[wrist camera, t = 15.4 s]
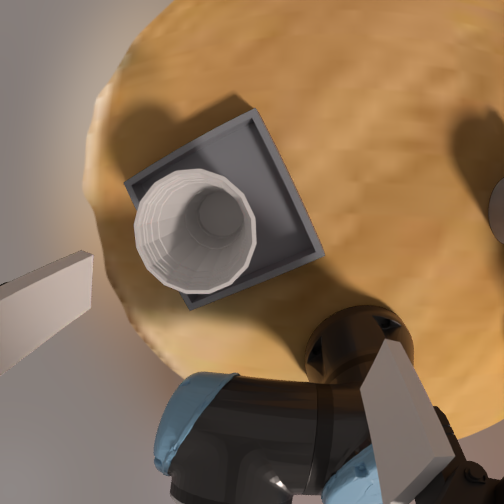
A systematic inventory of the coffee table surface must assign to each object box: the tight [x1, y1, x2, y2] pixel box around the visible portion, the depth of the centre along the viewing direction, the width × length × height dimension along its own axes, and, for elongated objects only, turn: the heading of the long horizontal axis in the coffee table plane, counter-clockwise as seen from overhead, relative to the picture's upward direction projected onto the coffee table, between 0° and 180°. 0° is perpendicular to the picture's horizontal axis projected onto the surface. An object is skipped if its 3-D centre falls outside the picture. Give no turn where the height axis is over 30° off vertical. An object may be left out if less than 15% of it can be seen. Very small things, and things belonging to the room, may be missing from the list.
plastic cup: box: [134, 169, 257, 294], centre depth 32 cm, size 11×11×12 cm
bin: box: [124, 108, 325, 311], centre depth 36 cm, size 18×18×4 cm
